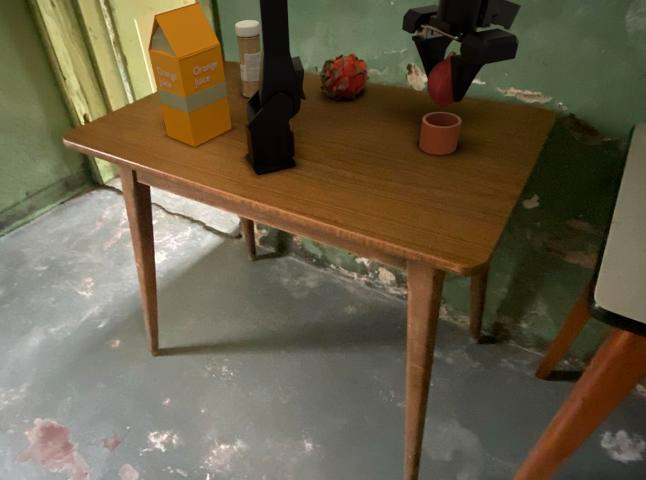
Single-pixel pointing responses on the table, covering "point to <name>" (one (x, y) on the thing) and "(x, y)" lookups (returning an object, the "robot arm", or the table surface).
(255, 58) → the sprinkles bottle
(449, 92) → the onion
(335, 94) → the dragon fruit
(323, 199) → the table surface
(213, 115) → the orange juice
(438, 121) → the cup
